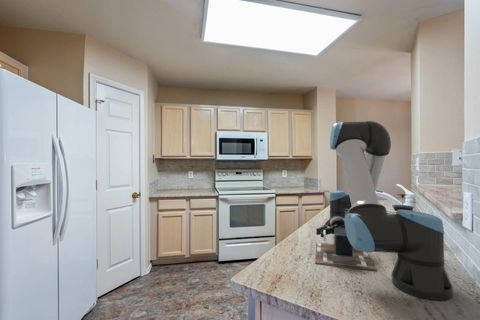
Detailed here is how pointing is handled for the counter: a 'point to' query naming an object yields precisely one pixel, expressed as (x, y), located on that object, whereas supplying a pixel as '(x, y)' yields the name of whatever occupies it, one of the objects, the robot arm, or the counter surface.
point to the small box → (341, 243)
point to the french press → (402, 207)
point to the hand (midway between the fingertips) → (342, 239)
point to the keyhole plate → (343, 258)
